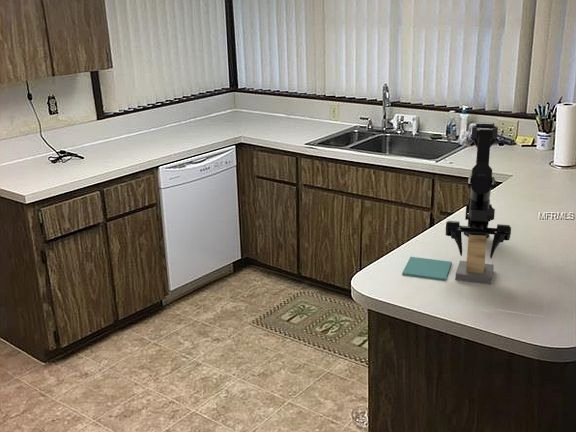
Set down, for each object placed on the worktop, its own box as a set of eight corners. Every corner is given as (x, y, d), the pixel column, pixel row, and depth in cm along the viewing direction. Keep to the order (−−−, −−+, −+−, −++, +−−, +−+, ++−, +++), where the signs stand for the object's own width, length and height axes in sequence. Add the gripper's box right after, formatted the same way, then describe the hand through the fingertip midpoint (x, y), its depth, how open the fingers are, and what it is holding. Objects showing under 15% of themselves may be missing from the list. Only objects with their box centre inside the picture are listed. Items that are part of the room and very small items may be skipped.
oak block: (466, 264, 194) (468, 234, 190) (483, 266, 192) (486, 235, 189) (466, 271, 189) (468, 240, 186) (483, 273, 188) (486, 242, 184)
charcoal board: (459, 266, 198) (459, 260, 197) (493, 270, 194) (493, 264, 193) (455, 279, 189) (455, 273, 188) (490, 284, 185) (490, 278, 185)
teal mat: (410, 258, 204) (410, 256, 204) (451, 263, 200) (451, 261, 200) (402, 274, 193) (402, 272, 193) (445, 280, 188) (445, 278, 188)
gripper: (447, 195, 190) (443, 243, 183) (513, 199, 185) (511, 248, 178) (447, 211, 199) (443, 257, 193) (510, 216, 194) (508, 263, 188)
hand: (475, 256), depth 188 cm, fingers open, 8 cm apart
